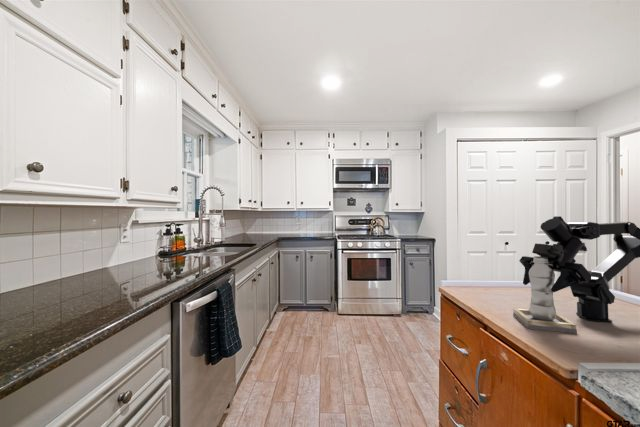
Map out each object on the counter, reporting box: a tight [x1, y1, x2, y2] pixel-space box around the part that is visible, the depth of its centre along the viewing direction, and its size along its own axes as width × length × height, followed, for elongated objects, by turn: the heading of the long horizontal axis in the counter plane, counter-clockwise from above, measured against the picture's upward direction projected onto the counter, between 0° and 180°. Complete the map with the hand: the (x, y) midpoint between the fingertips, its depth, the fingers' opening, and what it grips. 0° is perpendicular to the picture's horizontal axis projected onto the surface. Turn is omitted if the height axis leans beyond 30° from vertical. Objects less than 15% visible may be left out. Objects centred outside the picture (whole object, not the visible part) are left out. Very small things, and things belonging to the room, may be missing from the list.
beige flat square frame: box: [512, 308, 578, 334], centre depth 85 cm, size 12×12×2 cm
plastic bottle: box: [528, 255, 557, 321], centre depth 86 cm, size 6×7×20 cm
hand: (537, 287), depth 85 cm, fingers open, 9 cm apart
